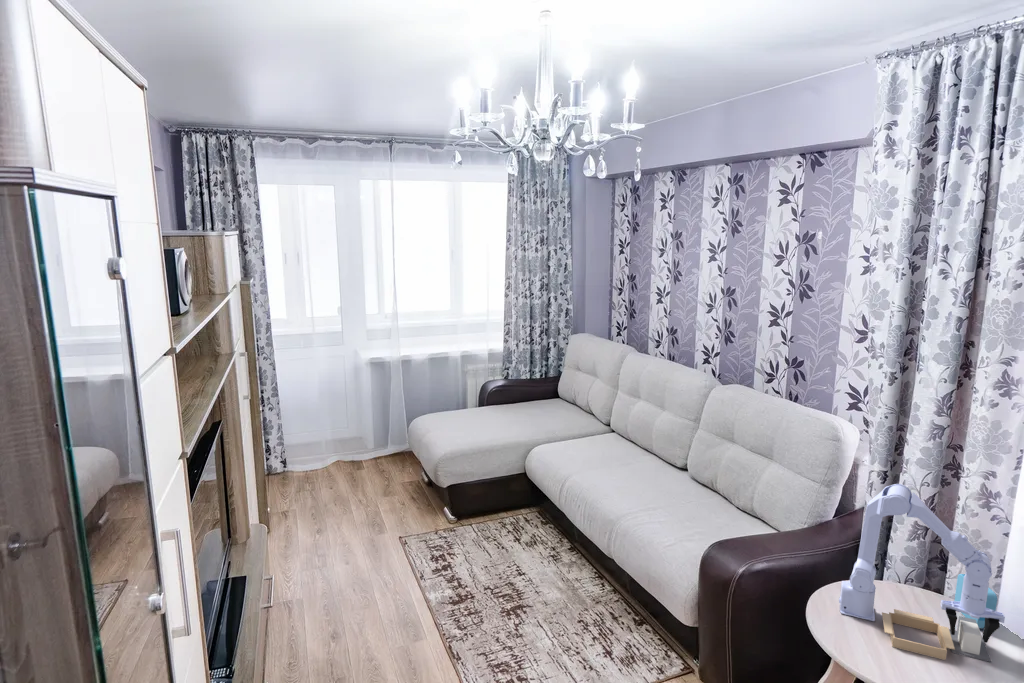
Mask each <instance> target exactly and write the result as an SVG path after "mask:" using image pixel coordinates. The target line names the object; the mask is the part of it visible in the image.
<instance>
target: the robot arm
mask: <svg viewBox="0 0 1024 683" xmlns="http://www.w3.org/2000/svg"><path fill="white" fill-rule="evenodd" d="M905 514H906V517H907V518H916V519H919V520H920V521H921V522H922V523H923V524H925V525H926V526H927V527H928V528H929V529H930V530H931V531H933V533H935V534H936V535H937V536H938V537H940V538H941V542H940V543H941V544H940V545H942V546H943V547H944V548H945V550H947V551H948V552H949V553H950V554H951V555H952V556H953V557H954V558H955V559H956V560H957V561H958V562H959V563H960V564H962V565H963V566H965V567H964V569H965V576H964V580H963V587H962V594H961V601H954V600H943V599H940V609H941V610H944V611H945V614H946V616H947V618H948V621H949V626H950V627H949V629H950V632H951V634H952V635H955V631H956V624H957V622H958V616H957V612H958V613H960V612H962V613H965V614H968V615H970V616H971V617H972V618H976V619H979V617H984V618H985V625H984V628H983V632H982V638H983V640H984V643H986V644H987V643H988V642H989V639H990V638H991V636H992V635H993V634H994V633H995V632H996V631H997V630H999V628H1000V626H1001V623H1003V624H1005V619H1006V616H1005V614H1004V612H1000V611H997V610H996V611H994V610H991V609H988V608H986V601H987V595H988V588H990V587H989V586H990V578H992V575H993V572H992V562H991V558H990V557H989V556H988V555H987V553H986V552H983V551H981V550H980V549H977V548H976V547H975V546H974V545H972V543H970V542H969V538H968V537H967V536H966V535H965V534H963V535H962V534H961V533H960V532H959V531H955V530H954V531H953V530H951V529H950V528H949V527H948V526H946V524H945V523H944V522H943V521H942V520H941V519H940V518H939V517H938V516H937V515H936V514H935V513H934V512H933V511H932V510H931V509H930V508H929V507H928V506H927V505H926V504H925V502H923V500H922V499H921V498H920V496H918V495H917V494H916V493H915V492H912V491H911V489H910V488H909V487H907V486H906V485H904V484H902V483H895V484H890V485H887V486H884V488H883V489H882V490H881V491H880V492H879V493H878V494H876V495H875V496H874V497H873V498H872V499H870V500H869V501H868V502H867V504H866V508H865V515H864V520H863V524H862V530H861V537H860V542H859V547H858V554H857V559H856V561H855V562H854V564H853V569H852V572H851V575H850V576H849V580H847V581H846V580H841V585H840V596H839V598H838V603H839V611H840V614H842V615H845V616H849V617H855V618H859V619H863V620H865V621H872V622H875V621H876V616H875V610H874V609H875V608H874V607H875V599H876V598H875V597H876V588H877V587H876V585H875V583H874V582H875V578H876V575H877V569H876V566H875V561H876V556H877V555H876V554H877V549H878V544H879V538H880V533H881V527H882V521H883V518H885V517H887V516H901V515H902V516H903V515H905Z"/></svg>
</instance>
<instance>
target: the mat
mask: <svg viewBox="0 0 1024 683" xmlns="http://www.w3.org/2000/svg"><path fill="white" fill-rule="evenodd" d="M949 631H950V628H949ZM950 635H951V638H952V641H953V644H954V648H955V650H954V649H950V651H951V653H952V654H957V655H961V656H965V657H968V658H972V659H977V660H981V661H985V662H989V663H991V662H992V659H991V656H990V654H989V652H988V649H987V646H986V644H985V642H984V640H983V637H982V640H981V647H980V653H979V655H977V654H973V653H968V652H964V651H962V650H961V646H960V643H959V640H958V637H957V630H955V635H952V634H951V632H950Z"/></svg>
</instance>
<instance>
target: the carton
mask: <svg viewBox="0 0 1024 683" xmlns="http://www.w3.org/2000/svg"><path fill="white" fill-rule="evenodd" d="M881 614H882V615H881V616H882V622H883V628H884V629H883V631H884V634H889V636H890V641H891V647H892V648H896V649H900V650H904V651H908V652H912V653H915V654H920V655H924V656H927V657H932V658H936V659H938V660H939V659H940V660H944V661H947V655H948V650H947V649H949V650H951V649H954V650H955V648H954V644H953V641H952V638H951V635H950V631H949V629H950V627H947V626H943V625H940V623H937V622H935V621H934V619H933V617H931V616H926V615H922V614H919V613H912V612H908V611H904V610H900V609H896V608H894V609H893V612H888V613H886V612H881ZM894 624H895V625H901V626H905V627H908V628H909V627H910V628H913V629H918V630H922V631H925V632H930V633H934V634H936V635H937V639H938V642H939V646H940V647H937V646H934V645H933V646H932V645H928V644H924V643H920V642H916V641H912V640H908V639H903V638H900V637H899V638H898V637H896V636H895V631H894V630H895V629H894Z"/></svg>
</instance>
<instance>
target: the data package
mask: <svg viewBox="0 0 1024 683" xmlns="http://www.w3.org/2000/svg"><path fill="white" fill-rule="evenodd" d="M964 576H965V574H964V573H959V574H957V579H956V586H955V593H954V600H953V601H961V594H962V587H963V580H964ZM997 605H998V595H997V594H996V593H995V591H993V589H992V588H990V587H989V588H988V595H987V601H986V608H988V609H991V610H994V611H997ZM961 613H962V612H961ZM961 613H960V614H961ZM962 614H963V615H964V616H965V617H966V618H970V619H975V620H976V622H977V625H978V627H979V629H984V625H985V618H984V617H979V619H976V618H972V617H971V616H970V615H968V614H965V613H962ZM962 614H961V615H962ZM963 615H962V616H963ZM964 616H963V617H964Z"/></svg>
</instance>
